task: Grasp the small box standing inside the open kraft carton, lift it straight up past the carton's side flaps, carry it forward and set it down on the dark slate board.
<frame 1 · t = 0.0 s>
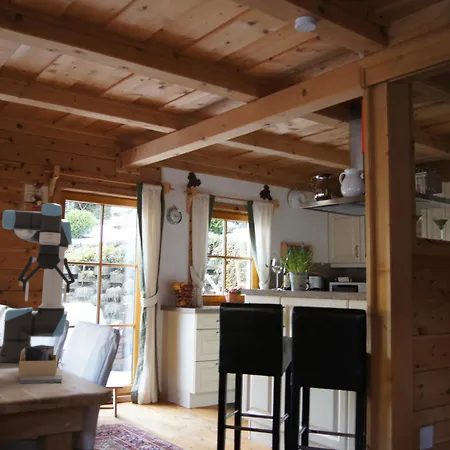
hand: (45, 301, 205), 28 cm above the table, fingers open, 13 cm apart
small box: (38, 374, 211), resting in carton
carton: (38, 373, 211), on the table
board: (41, 380, 196), on the table
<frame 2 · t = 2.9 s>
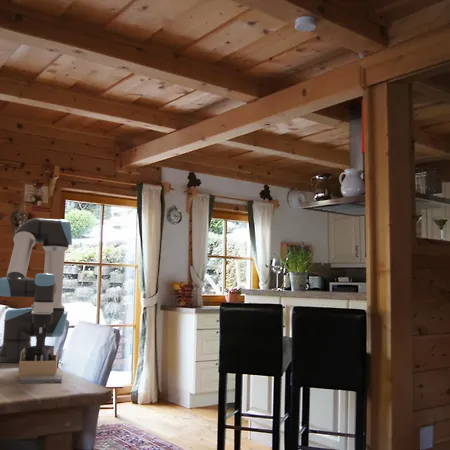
hand: (38, 370, 211), 1 cm above the table, fingers closed on small box, 12 cm apart
small box: (38, 374, 211), resting in carton, touching gripper
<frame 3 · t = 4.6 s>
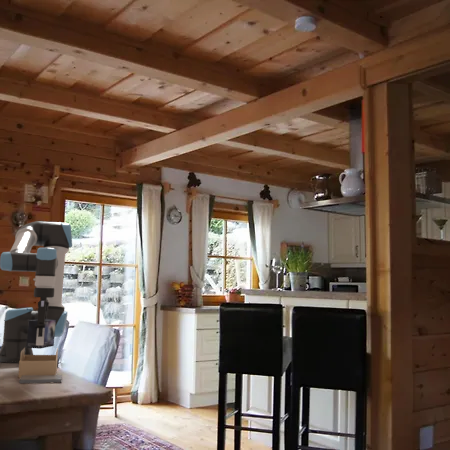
hand: (40, 343, 213), 11 cm above the table, fingers closed on small box, 12 cm apart
small box: (40, 347, 213), point 10 cm above the table, touching gripper
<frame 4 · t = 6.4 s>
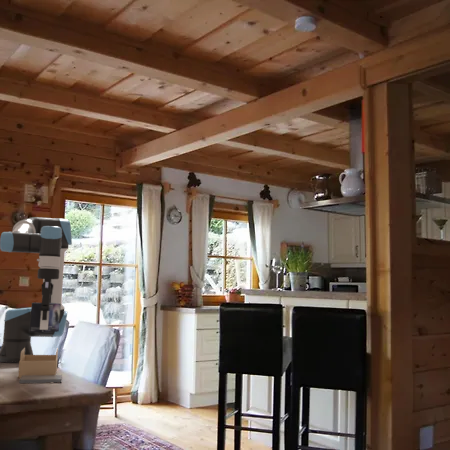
hand: (44, 328, 199), 18 cm above the table, fingers closed on small box, 12 cm apart
small box: (44, 332, 198), point 17 cm above the table, touching gripper
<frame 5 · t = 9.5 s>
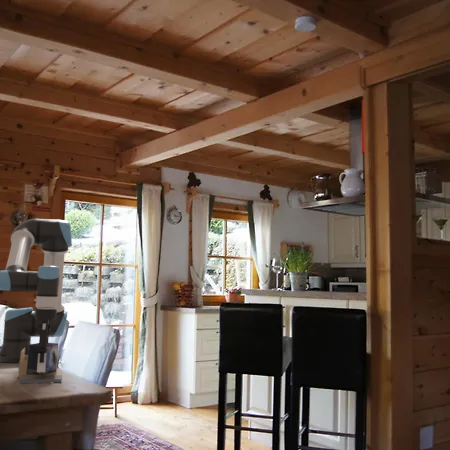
hand: (42, 369, 197), 4 cm above the table, fingers closed on small box, 12 cm apart
small box: (41, 373, 197), point 2 cm above the table, touching gripper
when the fingers open (4 cm above the table, at t = 9.8 s): small box drops 1 cm, resting on board.
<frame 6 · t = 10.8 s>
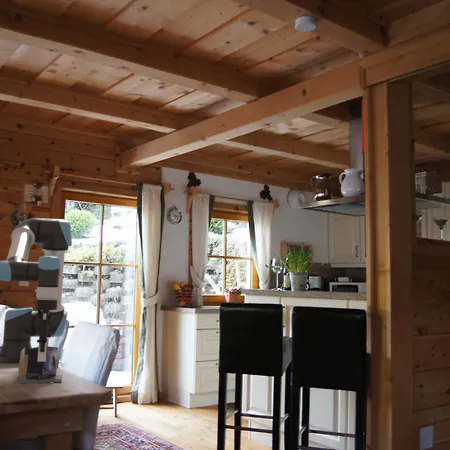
hand: (42, 358, 198), 8 cm above the table, fingers open, 13 cm apart
small box: (41, 377, 196), point 1 cm above the table, touching board
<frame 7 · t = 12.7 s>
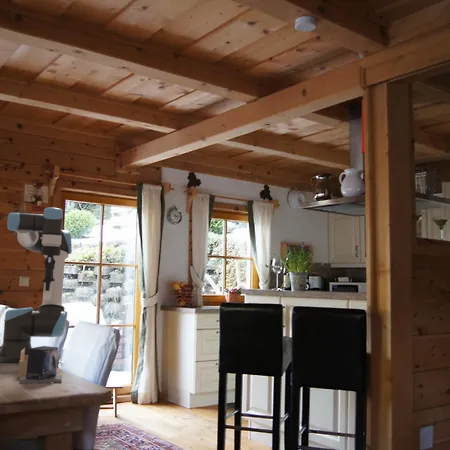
hand: (47, 298, 222), 29 cm above the table, fingers open, 13 cm apart
nothing on the table moved.
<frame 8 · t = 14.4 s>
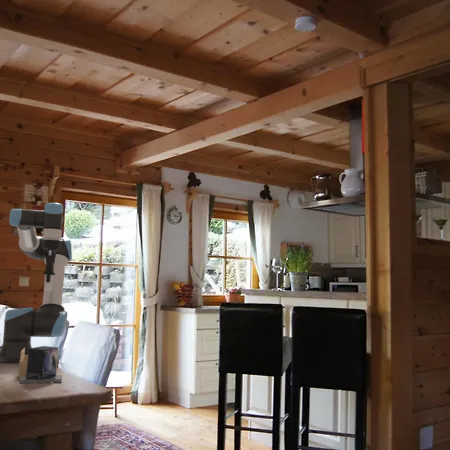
hand: (48, 290, 228), 32 cm above the table, fingers open, 13 cm apart
nothing on the table moved.
at the end: small box inside the target area on the board (0.1 cm from its centre), point 1.0 cm above the board's base; small box tilted 0°; the gripper is holding nothing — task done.
